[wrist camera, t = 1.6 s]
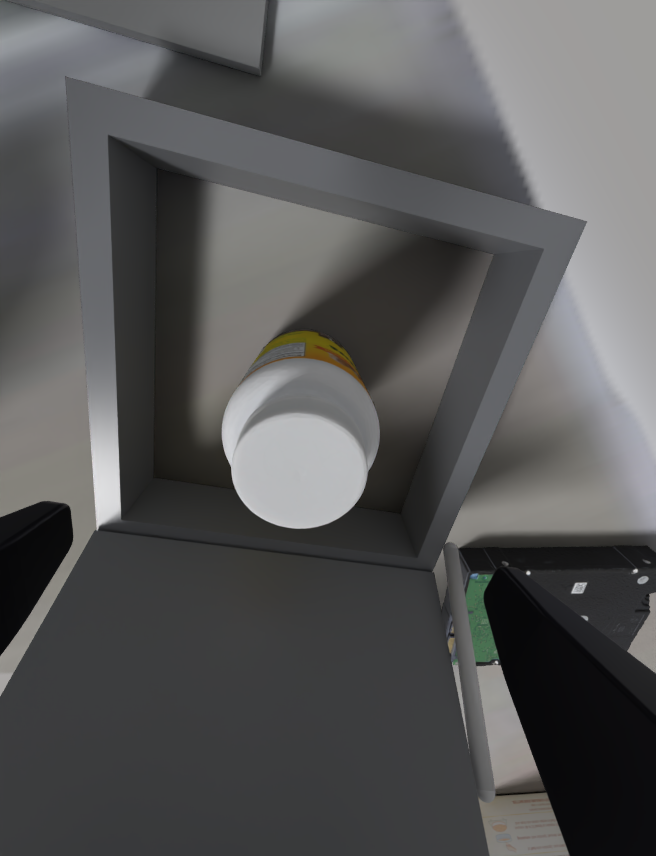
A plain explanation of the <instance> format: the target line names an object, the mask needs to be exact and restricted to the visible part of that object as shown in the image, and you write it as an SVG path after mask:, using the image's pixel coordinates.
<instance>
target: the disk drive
mask: <svg viewBox="0 0 656 856" xmlns="http://www.w3.org/2000/svg"><path fill="white" fill-rule="evenodd" d="M458 552H459V559H460V565H461V572H462V578H463V585H464V591H465V598H466V604H467V610H468V617H469V623H470V630H471V636H472V643H473V649H474V656H475V662H476V666H486V665H493V664H494V665H496V664H497V665H501V664H500V660H499V657H498V653H497V649H496V646H495V642H494V638H493V635H492V631H491V627H490V624H489V620H488V616H487V613H486V609H485V605H484V600H483V596H484V591H485V589H486V587H487V585H488V583H489V581H490V580H491V578H492V576H493V574H494V572H495V571H496V569H497V568H498V567H500V566H506V567H513V568H518V569H520V570H521V571H523V572H524V573H525V574H527V575H528V576H529V577H531V578H532V579H533V580H534V581H536V582H537V583H538V584H540V585H541V586H542V587H544V588H545V589H546V590H547V591H549V592H550V593H551V594H553V595H554V596H555V597H557V598H558V599H559V600H561V601H562V602H563V603H564V604H566V605H567V606H568V607H570V608H571V609H572V610H574V611H575V612H576V613H577V614H579V615H580V616H581V617H583V618H584V619H585V620H587V621H588V622H589V623H590V624H592V625H593V626H594V627H596V628H597V629H598V630H600V631H601V632H602V633H604V634H605V635H606V636H607V637H609V638H610V639H611V640H613V641H614V642H615V643H617V644H618V645H619V646H620V647H622V648H623V649H624V650H626V651H627V650H628V649H629V647H630V645H631V642H632V641H633V639H634V638H635V636H636V635H637V633H638V631H639V629H641V627H642V625H643V624H644V621H645V620H646V619H647V617H648V615H649V613H650V610H649V608H650V606H649V597H650V596H649V594H651V593H654V592H656V553H655V552H654V551H653V550H652V549H650V548H649V547H648V546H612V547H608V546H607V547H553V548H551V547H541V548H498V547H491V548H490V547H488V548H459V549H458ZM442 616H443V621H444V626H445V631H446V636H447V641H448V647H449V652H450V657H451V662H453V665H458V659H457V651H456V644H455V636H454V628H453V621H452V613H451V605H450V597H449V590H448V586H447V590H446V596H445V600H444V603H443V607H442Z"/></svg>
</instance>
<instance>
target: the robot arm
mask: <svg viewBox="0 0 656 856" xmlns="http://www.w3.org/2000/svg"><path fill="white" fill-rule="evenodd" d="M72 542H73V528H72V519H71V510H70V507H69V506H68V505H67V504H64V503H58V502H51V501H42V502H39V503H36V504H34V505H31V506H29V507H26V508H23V509H21V510H18V511H16V512H13V513H10V514H8V515H5V516H3V517H0V656H1V654H2V653H3V652H4V650H5V649H6V648H7V646H8V645H9V644H10V642H11V641H12V640H13V638H14V637H15V635H16V634H17V633H18V631H19V630H20V628H21V627H22V625H23V624H24V622H25V621H26V619H27V618H28V616H29V615H30V613H31V611H32V610H33V608H34V607H35V605H36V603H37V602H38V600H39V598H40V597H41V595H42V594H43V592H44V590H45V589H46V587H47V585H48V584H49V582H50V580H51V579H52V577H53V576H54V574H55V572H56V571H57V569H58V567H59V566H60V564H61V563H62V561H63V559H64V558H65V556H66V554H67V553H68V551H69V549H70V547H71V545H72ZM483 600H484V605H485V609H486V613H487V616H488V620H489V624H490V627H491V631H492V635H493V638H494V642H495V646H496V649H497V653H498V657H499V660H500V664H501V667H502V671H503V674H504V677H505V680H506V683H507V686H508V689H509V692H510V695H511V697H512V700H513V703H514V706H515V708H516V711H517V714H518V716H519V719H520V722H521V725H522V727H523V730H524V733H525V736H526V738H527V741H528V744H529V746H530V749H531V752H532V755H533V757H534V760H535V763H536V766H537V768H538V771H539V774H540V777H541V779H542V782H543V785H544V787H545V790H546V793H547V796H548V798H549V801H550V804H551V807H552V809H553V812H554V815H555V817H556V820H557V823H558V826H559V828H560V831H561V834H562V837H563V839H564V842H565V845H566V848H567V850H568V853H569V856H656V673H654V672H653V671H652V670H650V669H649V668H648V667H646V666H645V665H644V664H643V663H641V662H640V661H639V660H637V659H636V658H635V657H633V656H632V655H631V654H630V653H628V652H627V651H626V650H624V649H623V648H622V647H620V646H619V645H618V644H617V643H615V642H614V641H613V640H611V639H610V638H609V637H607V636H606V635H605V634H604V633H602V632H601V631H600V630H598V629H597V628H596V627H594V626H593V625H592V624H590V623H589V622H588V621H587V620H585V619H584V618H583V617H581V616H580V615H579V614H577V613H576V612H575V611H574V610H572V609H571V608H570V607H568V606H567V605H566V604H564V603H563V602H562V601H561V600H559V599H558V598H557V597H555V596H554V595H553V594H551V593H550V592H549V591H547V590H546V589H545V588H544V587H542V586H541V585H540V584H538V583H537V582H536V581H534V580H533V579H532V578H531V577H529V576H528V575H527V574H525V573H524V572H523V571H521V570H520V569H518V568H513V567H506V566H500V567H498V568H497V569H496V571H495V572H494V574H493V576H492V578H491V580H490V581H489V583H488V585H487V587H486V589H485V591H484V596H483Z"/></svg>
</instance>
